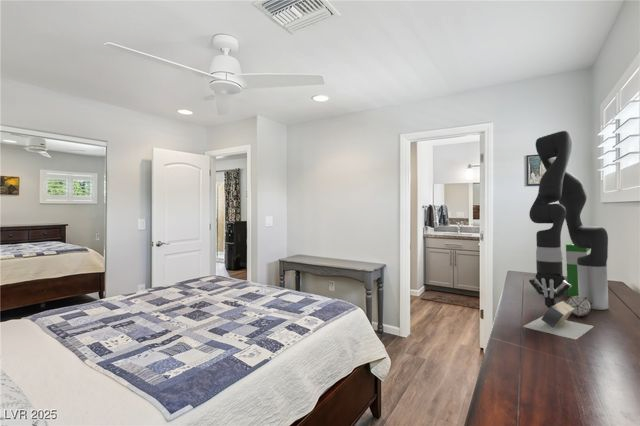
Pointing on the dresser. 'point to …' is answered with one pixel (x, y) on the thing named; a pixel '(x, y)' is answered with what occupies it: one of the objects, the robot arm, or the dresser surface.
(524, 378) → the dresser surface
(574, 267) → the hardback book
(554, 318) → the maple block
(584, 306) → the game die
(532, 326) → the felt mat
